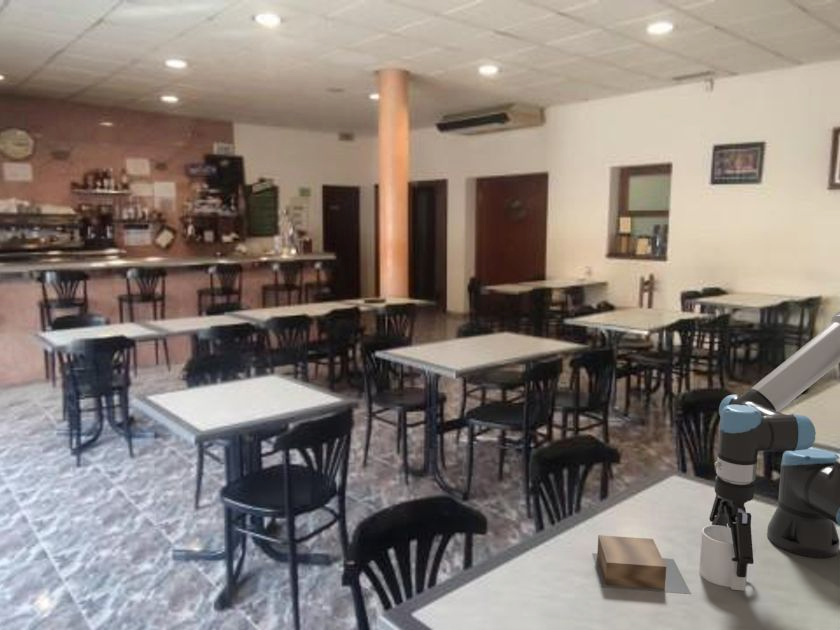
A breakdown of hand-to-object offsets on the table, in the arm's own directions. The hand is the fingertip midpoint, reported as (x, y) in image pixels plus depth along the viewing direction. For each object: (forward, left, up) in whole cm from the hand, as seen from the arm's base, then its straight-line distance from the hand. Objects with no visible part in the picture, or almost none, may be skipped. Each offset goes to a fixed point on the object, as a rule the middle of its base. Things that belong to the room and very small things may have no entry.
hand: (727, 572), depth 139 cm
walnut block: (+21, +2, 0) cm, 21 cm away
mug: (0, 0, -2) cm, 2 cm away
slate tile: (+19, +2, -2) cm, 19 cm away
